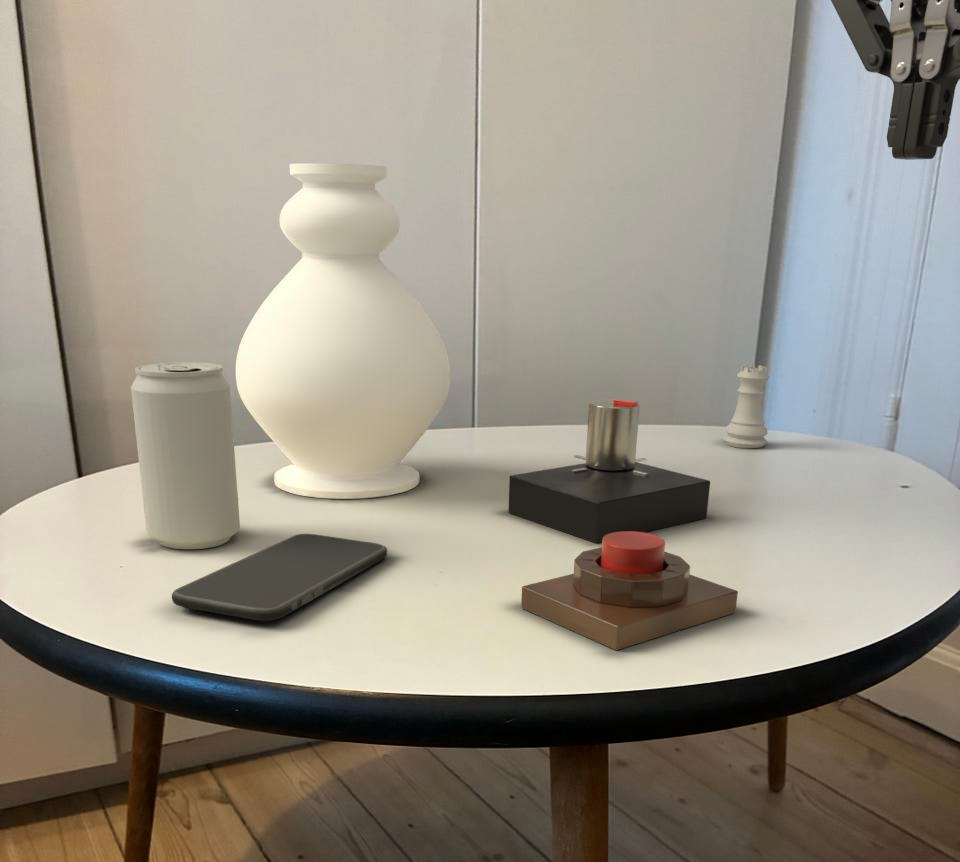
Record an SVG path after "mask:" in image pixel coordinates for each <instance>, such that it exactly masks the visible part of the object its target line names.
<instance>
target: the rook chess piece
mask: <svg viewBox="0 0 960 862" xmlns="http://www.w3.org/2000/svg"><path fill="white" fill-rule="evenodd" d="M767 370H768V367H767V366H765V365H757V367H756V364H750V365H749V366H748V365H746V364H743V365H741V367H740V371H739V372H738V373H737V374H736V378H737V379H738V381H739V388H738V389H737V392H738V397H737V402H736V407H735V411H734V414H733V417H732V418H730V422H729V424H727V426H726V427H725V433H727V435H726V436H725V437H724V438H723V440H724V441H725V443H726V445H727V446H728V447H733V448H737V449H738V448H740V449H761V448H763V447H764V446H765V445H766V444H767V443H768V440H767V439H766V438H765V437H766V436H767V435H768V433H769V432H768V429H767V427H766V426H765V421H764V418H763V397H764V394H766V391H765V389H764V385H765V384H766V382H767V381H768V380H769V379H770V376H769V374H768V372H767Z"/></svg>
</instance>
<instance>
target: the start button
mask: <svg viewBox="0 0 960 862" xmlns="http://www.w3.org/2000/svg"><path fill="white" fill-rule="evenodd" d="M601 547H602V554H601V567H602V568H605V569H607V570H610V571H613V572H619V573H626V574H653V573H657V572H660V571H662V570H663V562H664V551H665V549H666V540H665V539H664V538H662V537H661V536H659V535H656V534H653V533H650V532H649V533H648V532H634V531H622V532H614V533H610V534H607V535H605V536H604V537H603V539H602V542H601ZM665 552H666V551H665Z"/></svg>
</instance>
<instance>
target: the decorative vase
mask: <svg viewBox="0 0 960 862" xmlns="http://www.w3.org/2000/svg"><path fill="white" fill-rule="evenodd" d="M289 175H290V177H292V178H294V179H296V180H298V181H300V182H301V187H302V188H300V189H299V190H298V191H297V192H296V193H295V194H293V196H291V197H290V198H289V199H288V200H287V201H286V202H285V204H284V205H283V207H282V208H281V210H280V213H279V220H278V221H279V222H278V223H279V227H280V230H281V232H282V233H283V234H284V236H285V237H286V238H287V240H288V241H289V242H290V243H291V244H292V245H293V246H294V247H295V248H296V249H297V250H298V251H300V252H301V258H300V259H299V260H298V262H297V263H296V264H294V266H293V267H292V268H291V269H290V271H288V272H287V274H286V275H285V276H284V277H283V278H282V279H281V280H280V281H279V282H278V283H277V285H276V286H275V287H274V288H273V290H271V292H270V293H269V294H268V296H267V297H266V298H265V299H264V301H263V302H262V303H261V305H260V306H259V308H258V309H257V311H256V312H255V313H254V315H253V317H252V319H251V320H250V322H249V324H248V326H247V327H246V329H245V331H244V334H243V336H242V338H241V340H240V343H239V347H238V348H237V353H236V358H235V382H236V383H235V384H236V388H237V391H238V395H239V397H240V399H241V401H242V403H243V405H244V406H245V408H246V409H247V411H248V412H249V414H250V415H251V416H252V418H253V419H254V420H255V422H256V423H257V424H258V425H259V427H260V428H261V429H262V430H263V431H264V433H265V434H266V435H267V436H268V437H269V438H270V439H271V441H272V442H273V443H274V444H275V445H276V446H277V447H278V448H279V450H280V451H281V452H282V453H283V454H284V455H285V456H286V458H287V459H289V460H290V462H291V463H292V464H289V465H287V466H283V467H282V468H280V469H278V470H277V471H276V472H275V473H274V475H273V480H274V485H275V486H276V487H277V488H278V489H280V490H282V491H283V492H287V493H290V494H294V495H297V496H302V497H309V498H317V499H331V500H332V499H333V500H334V499H335V500H355V499H372V498H380V497H387V496H392V495H393V496H394V495H398V494H402V493H405V492H407V491H410V490H412V489H414V488H416V487H417V486H418V485H419V483H420V472H419V471H418V470H417V469H416V468H414V467H412V466H410V465H408V464H404V463H401V462H402V461H403V460H404V459H405V457H406V456H407V455H408V454H409V453H410V452H411V450H412V449H413V448H414V447H415V446H416V444H417V443H418V441H419V440H420V439H421V438H422V437H423V436H424V434H425V432H426V431H427V430H428V428H430V426H431V425H432V424H433V422H434V420H435V419H436V418H437V416H438V415H439V413H440V412H441V411H442V408H443V407H444V405H445V403H446V401H447V399H448V395H449V392H450V387H451V365H450V359H449V355H448V351H447V348H446V345H445V343H444V341H443V339H442V337H441V335H440V333H439V331H438V329H437V327H436V326H435V324H434V322H433V321H432V319H431V318H430V316H429V315H428V313H427V312H426V310H425V309H424V308H423V306H422V305H421V304H420V302H419V301H418V299H416V298H415V296H414V295H413V294H412V293H411V292H410V290H408V288H407V287H406V286H405V285H404V284H403V282H401V281H400V279H398V277H397V276H396V275H395V273H393V272H392V271H391V269H390V268H388V266H386V264H385V263H383V262H382V260H381V259H380V254H381V253H382V252H384V250H385V249H386V248H388V246H389V245H391V243H392V242H393V241H394V239H395V238H396V236H397V235H398V233H399V231H400V217H399V215H398V212H397V211H396V209H395V207H394V206H393V205H392V204H391V202H389V200H388V199H386V198H385V197H384V196H383V195H382V194H381V193H380V192H378V191H377V190H376V184H377V183H380V182H381V181H383V180H385V179H387V166H384V165H375V164H373V165H372V164H358V163H357V164H355V163H331V162H330V163H328V162H327V163H326V162H324V163H323V162H321V163H320V162H319V163H318V162H308V163H307V162H306V163H305V162H304V163H303V162H301V163H289Z"/></svg>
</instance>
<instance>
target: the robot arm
mask: <svg viewBox="0 0 960 862" xmlns="http://www.w3.org/2000/svg"><path fill="white" fill-rule="evenodd" d="M883 1H884V0H830V2H831V3H832V5H833V7H834V10H835V12H836V14H837V15H838V17H839V19H840V22H841V24H842V25H843V28H844V29H845V32H846V33H847V35H848V37H849V39H850V41H851V43H852V45H853V47H854V50H855V52H856V53H857V55H858V57H859V60H860V61H861V63H862V65H863V67H864V69H865V71H867V72H869V73H874V74H875V73H876V74H879V75H882V76H884V77H886V78H888V79H890V80H891V82H892V84H893V92H892V99H891V106H890V112H889V119H888V127H887V131H886V143H887V146H888V148H891V155H892V157H893V159H895V160H903V161H904V160H907V161H909V160H912V161H913V160H914V161H915V160H932V159H934V157H935V156H936V154H937V150H938V148H942V147H943V146H944V144H945V142H946V139H947V137H948V133H949V127H950V121H951V115H952V109H953V104H954V99H955V93H956V87H957V84H958V83H959V81H960V0H890V2H891V4H890V16H889V19H888V18H887V16H886V14H885V11H884V9H883V8H882V6H881V4H880V3H882V2H883Z"/></svg>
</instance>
